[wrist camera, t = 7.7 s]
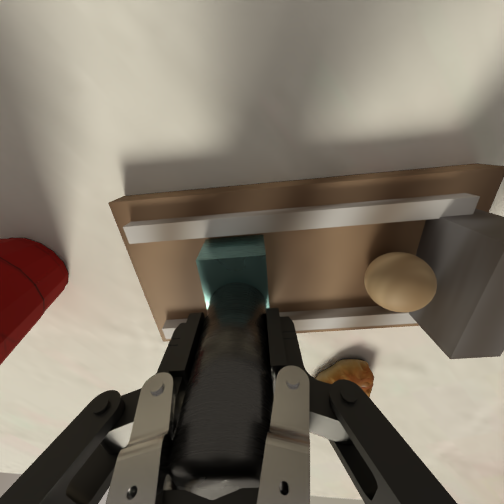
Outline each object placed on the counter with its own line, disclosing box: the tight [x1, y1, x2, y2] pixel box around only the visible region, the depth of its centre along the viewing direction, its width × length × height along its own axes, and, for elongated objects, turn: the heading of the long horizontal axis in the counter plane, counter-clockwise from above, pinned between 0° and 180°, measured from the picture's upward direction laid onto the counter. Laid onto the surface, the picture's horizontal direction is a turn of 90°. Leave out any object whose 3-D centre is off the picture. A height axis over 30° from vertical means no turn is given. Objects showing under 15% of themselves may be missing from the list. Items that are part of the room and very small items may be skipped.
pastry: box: [315, 359, 374, 397], centre depth 24 cm, size 9×7×4 cm
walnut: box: [364, 252, 437, 312], centre depth 14 cm, size 4×4×4 cm
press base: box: [109, 164, 504, 359], centre depth 15 cm, size 25×13×7 cm, turn 95°
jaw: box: [167, 235, 274, 500], centre depth 12 cm, size 4×7×11 cm, turn 5°
